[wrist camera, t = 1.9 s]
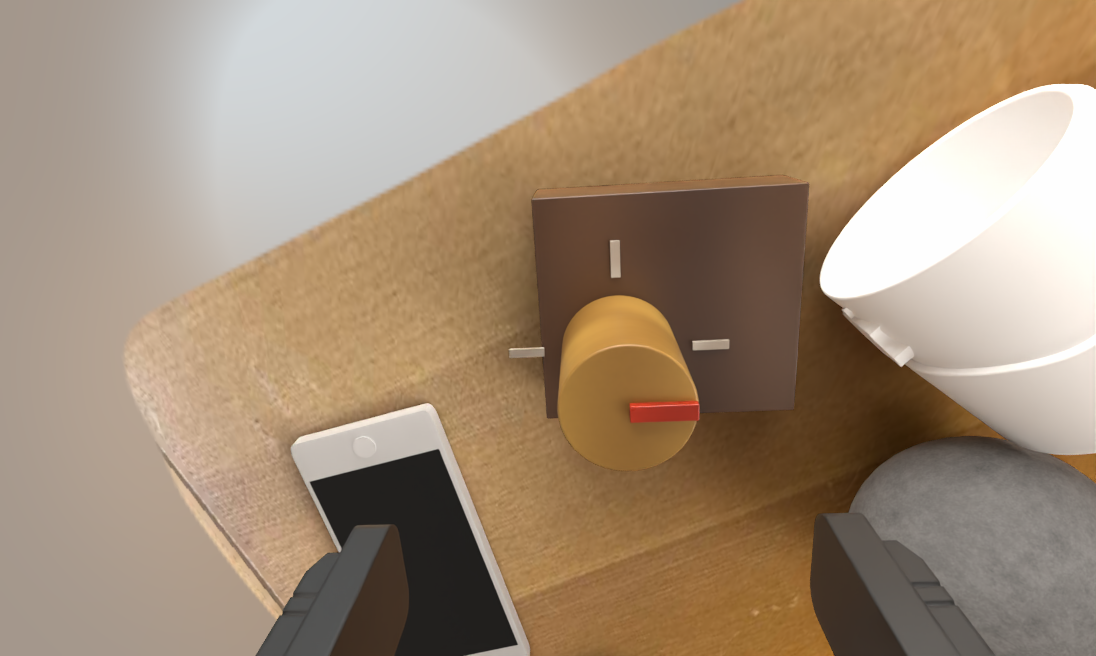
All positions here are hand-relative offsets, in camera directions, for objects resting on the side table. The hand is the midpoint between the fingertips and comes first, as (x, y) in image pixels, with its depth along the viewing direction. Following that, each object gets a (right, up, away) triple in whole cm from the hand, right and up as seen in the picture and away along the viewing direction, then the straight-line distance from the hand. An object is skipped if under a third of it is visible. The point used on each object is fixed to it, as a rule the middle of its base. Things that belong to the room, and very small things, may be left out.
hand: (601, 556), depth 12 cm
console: (+4, +6, +15) cm, 17 cm away
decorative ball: (+16, -3, +18) cm, 24 cm away
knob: (+2, +4, +13) cm, 13 cm away
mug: (+17, +8, +14) cm, 23 cm away
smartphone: (-8, -7, +20) cm, 22 cm away
